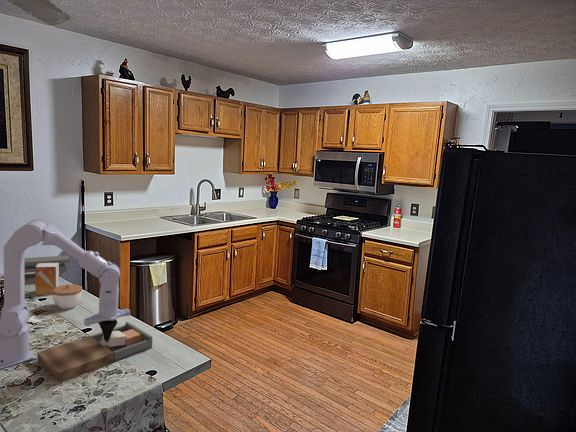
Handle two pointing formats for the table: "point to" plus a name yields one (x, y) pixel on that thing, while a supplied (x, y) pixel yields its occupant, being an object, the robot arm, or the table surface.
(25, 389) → the table surface
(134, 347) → the tray
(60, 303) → the lidded jar
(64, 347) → the brown wooden board
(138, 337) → the terracotta tile
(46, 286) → the small box
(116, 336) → the cream tile
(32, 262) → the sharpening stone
